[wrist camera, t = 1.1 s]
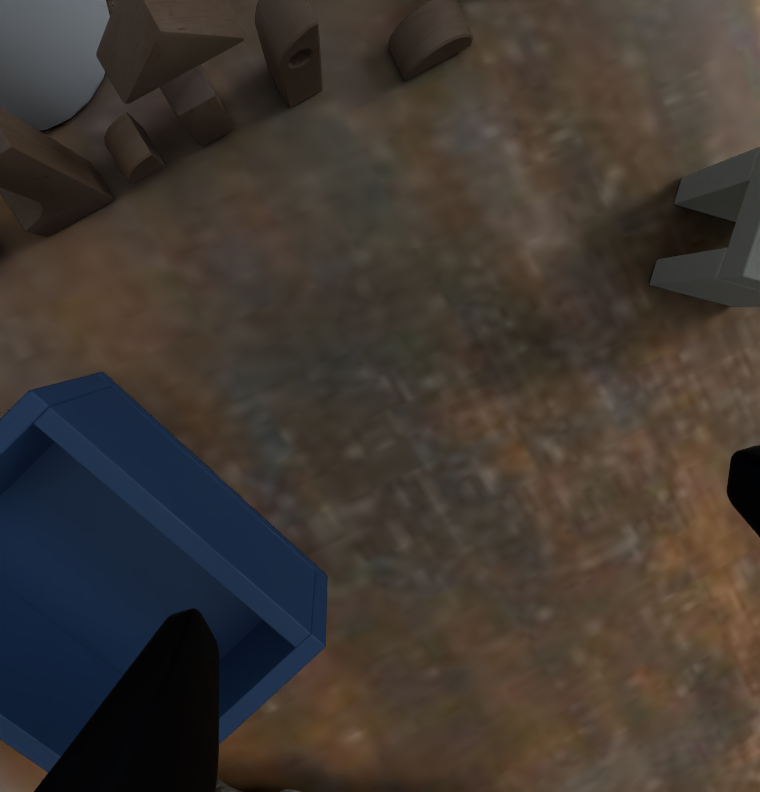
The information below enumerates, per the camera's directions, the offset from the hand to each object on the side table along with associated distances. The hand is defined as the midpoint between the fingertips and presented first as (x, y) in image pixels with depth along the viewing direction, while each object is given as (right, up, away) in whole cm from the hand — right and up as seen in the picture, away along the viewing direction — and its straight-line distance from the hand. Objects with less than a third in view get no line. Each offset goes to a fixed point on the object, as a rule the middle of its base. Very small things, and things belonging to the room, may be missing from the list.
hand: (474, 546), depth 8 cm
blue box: (-12, -5, +14) cm, 19 cm away
